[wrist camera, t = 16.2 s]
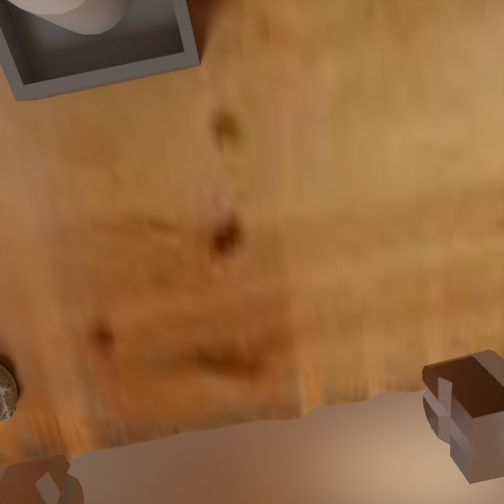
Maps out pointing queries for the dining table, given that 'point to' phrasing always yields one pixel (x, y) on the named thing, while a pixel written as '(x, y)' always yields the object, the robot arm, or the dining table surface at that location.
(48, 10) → the can
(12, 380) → the ceramic model
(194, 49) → the tray
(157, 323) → the dining table surface
